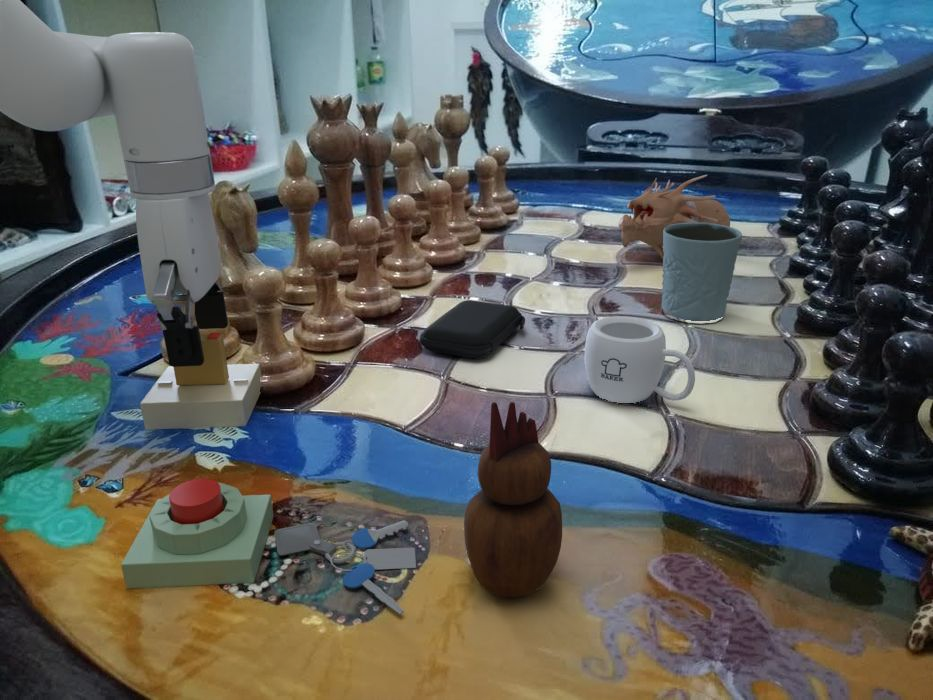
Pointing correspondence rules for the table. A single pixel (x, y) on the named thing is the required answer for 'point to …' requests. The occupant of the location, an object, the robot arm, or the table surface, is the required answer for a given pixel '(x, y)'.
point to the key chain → (352, 554)
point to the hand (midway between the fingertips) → (201, 345)
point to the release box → (200, 545)
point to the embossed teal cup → (698, 269)
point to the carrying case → (472, 329)
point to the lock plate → (202, 401)
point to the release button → (196, 501)
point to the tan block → (206, 364)
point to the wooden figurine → (513, 511)
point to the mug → (629, 360)
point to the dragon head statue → (667, 214)
